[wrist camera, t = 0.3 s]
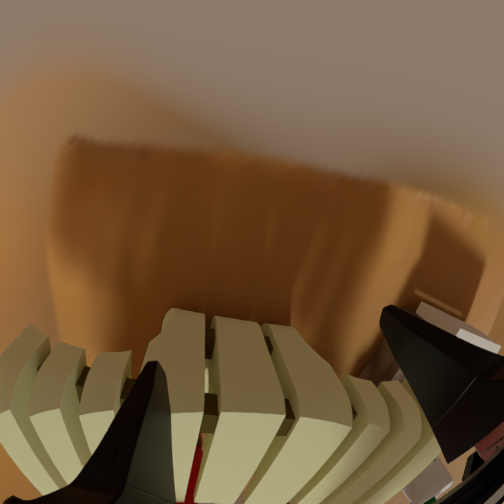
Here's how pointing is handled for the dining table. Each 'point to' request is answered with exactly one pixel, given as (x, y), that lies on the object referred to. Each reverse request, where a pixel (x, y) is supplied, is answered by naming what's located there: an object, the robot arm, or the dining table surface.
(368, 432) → the slatted curved stool
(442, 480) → the milk carton
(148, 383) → the robot arm
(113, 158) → the dining table surface
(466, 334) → the panel
